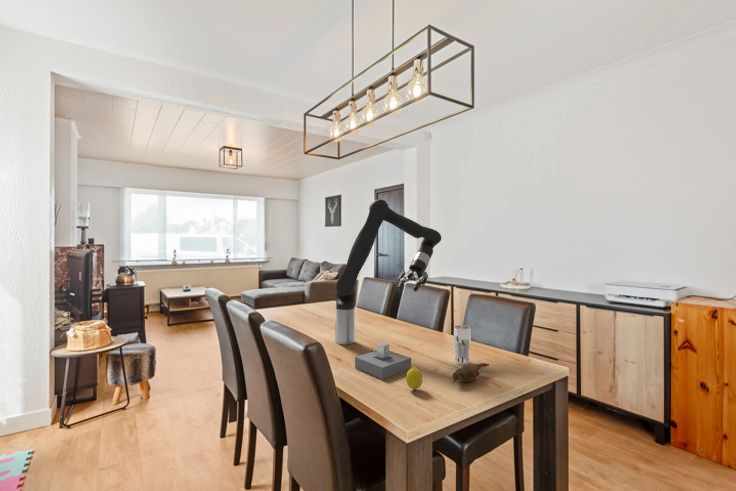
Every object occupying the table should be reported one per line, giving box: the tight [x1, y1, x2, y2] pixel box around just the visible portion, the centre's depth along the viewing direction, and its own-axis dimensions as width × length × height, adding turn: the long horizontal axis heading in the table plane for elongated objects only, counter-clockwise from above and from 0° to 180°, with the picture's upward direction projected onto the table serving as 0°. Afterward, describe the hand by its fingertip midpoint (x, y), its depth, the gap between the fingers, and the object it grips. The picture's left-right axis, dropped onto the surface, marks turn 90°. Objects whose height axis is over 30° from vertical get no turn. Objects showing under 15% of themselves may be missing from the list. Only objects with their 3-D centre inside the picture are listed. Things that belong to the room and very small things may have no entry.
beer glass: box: [453, 324, 472, 366], centre depth 151 cm, size 7×7×15 cm
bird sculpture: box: [452, 362, 490, 384], centre depth 133 cm, size 7×25×5 cm, turn 134°
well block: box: [354, 350, 412, 381], centre depth 144 cm, size 16×16×4 cm
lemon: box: [405, 366, 423, 391], centre depth 124 cm, size 6×6×8 cm
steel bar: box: [376, 341, 390, 361], centre depth 144 cm, size 4×4×10 cm
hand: (406, 289), depth 166 cm, fingers open, 8 cm apart
